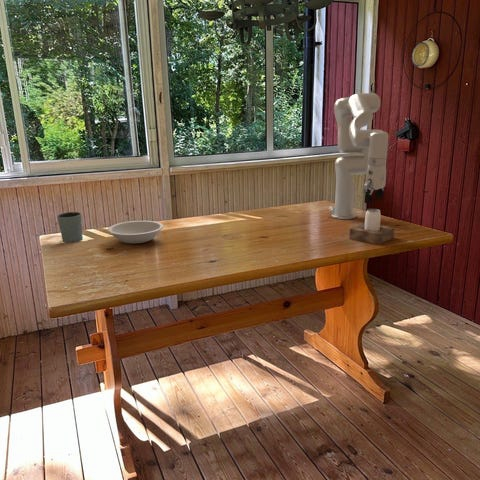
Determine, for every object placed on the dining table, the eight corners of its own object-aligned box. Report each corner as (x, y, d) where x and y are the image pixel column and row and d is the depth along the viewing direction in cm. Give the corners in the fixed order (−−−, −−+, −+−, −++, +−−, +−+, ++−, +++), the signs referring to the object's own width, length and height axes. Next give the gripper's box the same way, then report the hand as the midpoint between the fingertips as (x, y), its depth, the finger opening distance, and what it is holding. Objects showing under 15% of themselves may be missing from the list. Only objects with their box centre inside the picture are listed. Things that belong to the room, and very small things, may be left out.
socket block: (349, 238, 199) (349, 228, 197) (364, 231, 208) (365, 222, 207) (378, 244, 189) (379, 234, 188) (393, 237, 199) (394, 227, 198)
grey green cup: (85, 236, 208) (82, 211, 205) (83, 242, 199) (79, 216, 195) (62, 238, 206) (59, 212, 203) (58, 244, 197) (55, 217, 193)
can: (377, 234, 202) (379, 208, 198) (380, 238, 196) (382, 211, 192) (362, 234, 202) (364, 208, 199) (365, 238, 196) (367, 211, 193)
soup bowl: (142, 252, 184) (141, 237, 182) (97, 246, 194) (95, 231, 192) (174, 237, 205) (173, 223, 203) (132, 232, 215) (130, 218, 213)
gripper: (375, 165, 181) (371, 206, 187) (394, 160, 193) (390, 199, 198) (358, 163, 186) (355, 203, 191) (378, 158, 198) (374, 196, 203)
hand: (373, 201), depth 195 cm, fingers open, 9 cm apart
